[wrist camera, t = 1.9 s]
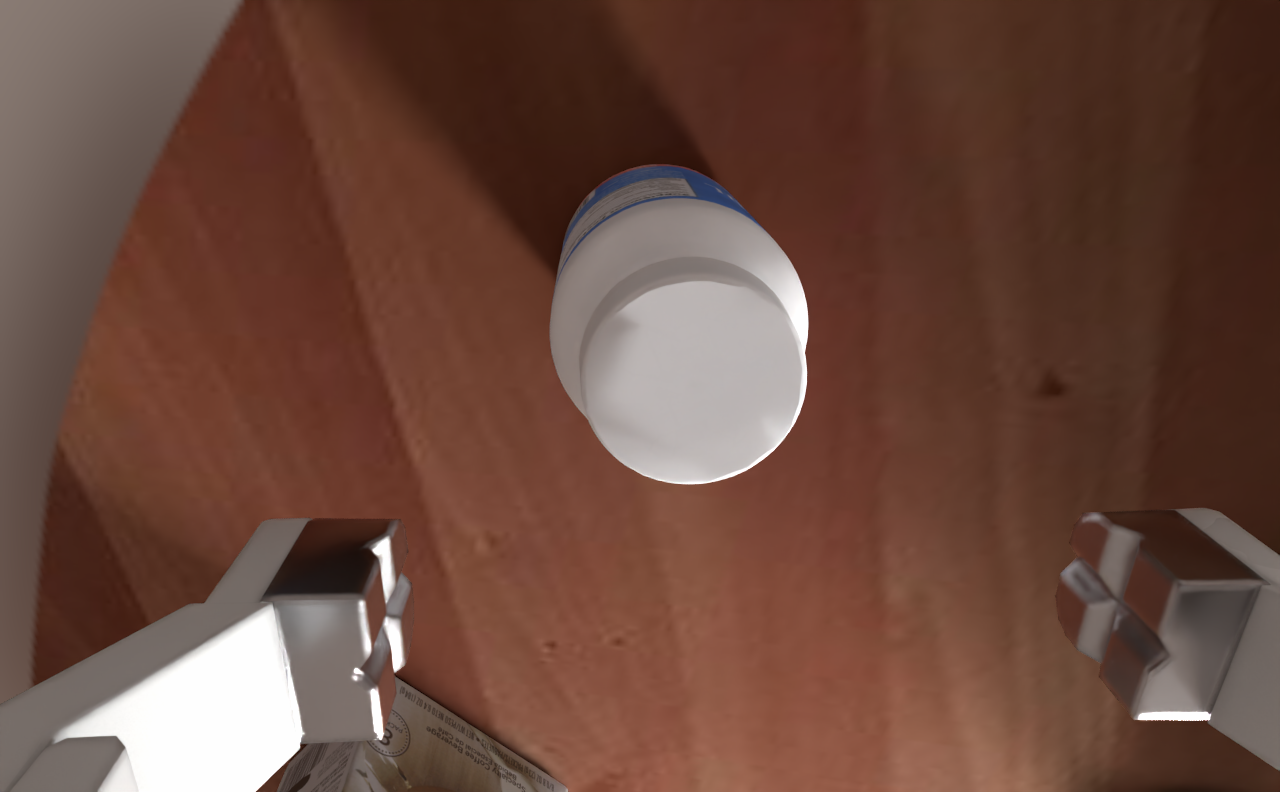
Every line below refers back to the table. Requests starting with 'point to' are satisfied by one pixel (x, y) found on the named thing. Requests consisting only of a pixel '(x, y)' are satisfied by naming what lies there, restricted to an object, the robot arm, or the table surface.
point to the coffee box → (416, 757)
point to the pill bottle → (678, 326)
